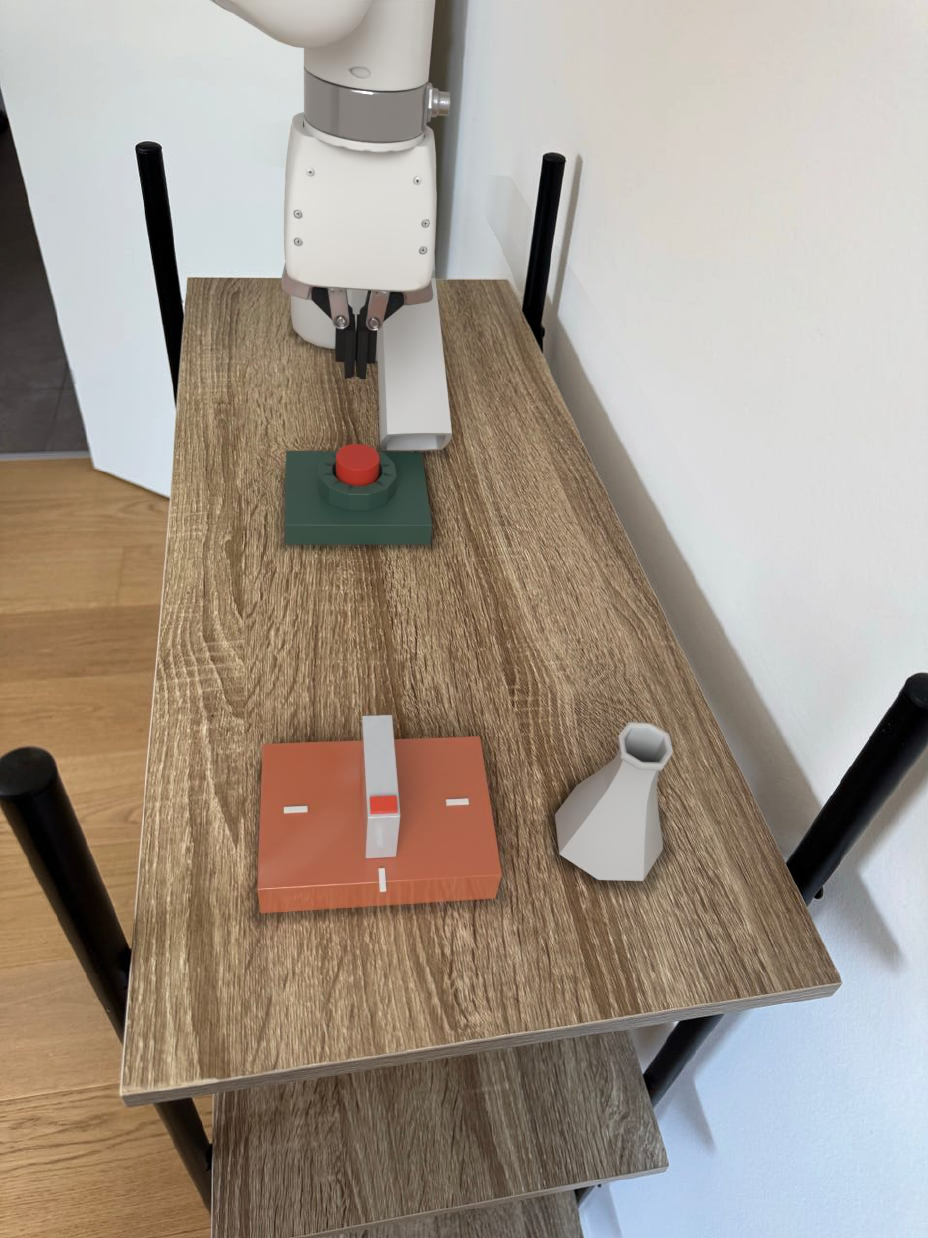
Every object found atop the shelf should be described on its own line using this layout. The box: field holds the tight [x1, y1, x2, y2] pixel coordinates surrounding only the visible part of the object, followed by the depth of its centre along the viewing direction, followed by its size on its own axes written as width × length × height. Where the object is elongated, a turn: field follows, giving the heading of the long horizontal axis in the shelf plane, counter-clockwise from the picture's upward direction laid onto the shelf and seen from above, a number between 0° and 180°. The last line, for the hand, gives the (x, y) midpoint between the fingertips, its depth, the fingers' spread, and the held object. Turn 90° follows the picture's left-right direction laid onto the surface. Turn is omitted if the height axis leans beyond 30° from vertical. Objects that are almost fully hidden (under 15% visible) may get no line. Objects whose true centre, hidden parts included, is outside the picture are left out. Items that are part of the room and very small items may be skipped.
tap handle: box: [360, 714, 400, 858], centre depth 54 cm, size 7×2×5 cm, turn 7°
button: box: [336, 443, 379, 485], centre depth 76 cm, size 4×4×2 cm
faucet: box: [376, 252, 453, 452], centre depth 88 cm, size 6×16×20 cm
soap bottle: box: [289, 289, 367, 350], centre depth 91 cm, size 10×10×23 cm
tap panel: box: [256, 735, 503, 914], centre depth 56 cm, size 14×11×3 cm
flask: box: [554, 721, 674, 882], centre depth 56 cm, size 7×7×10 cm
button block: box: [284, 448, 433, 546], centre depth 78 cm, size 12×10×4 cm
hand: (354, 368), depth 69 cm, fingers closed
